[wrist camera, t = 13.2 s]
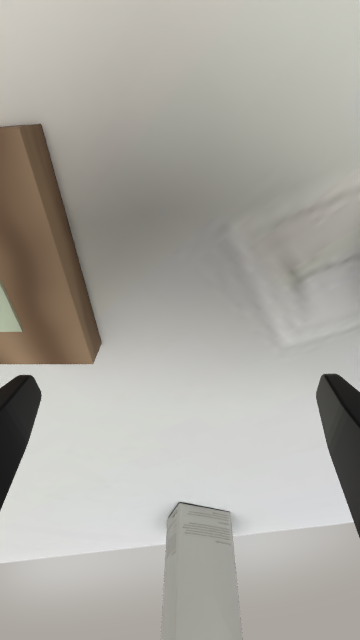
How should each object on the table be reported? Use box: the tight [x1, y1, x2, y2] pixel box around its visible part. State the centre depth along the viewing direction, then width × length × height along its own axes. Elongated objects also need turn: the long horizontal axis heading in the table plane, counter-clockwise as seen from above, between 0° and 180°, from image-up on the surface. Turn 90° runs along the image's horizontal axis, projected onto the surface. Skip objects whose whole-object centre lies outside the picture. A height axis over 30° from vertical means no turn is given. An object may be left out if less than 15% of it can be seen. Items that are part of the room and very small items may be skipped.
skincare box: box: [161, 503, 243, 640], centre depth 39 cm, size 8×7×16 cm
